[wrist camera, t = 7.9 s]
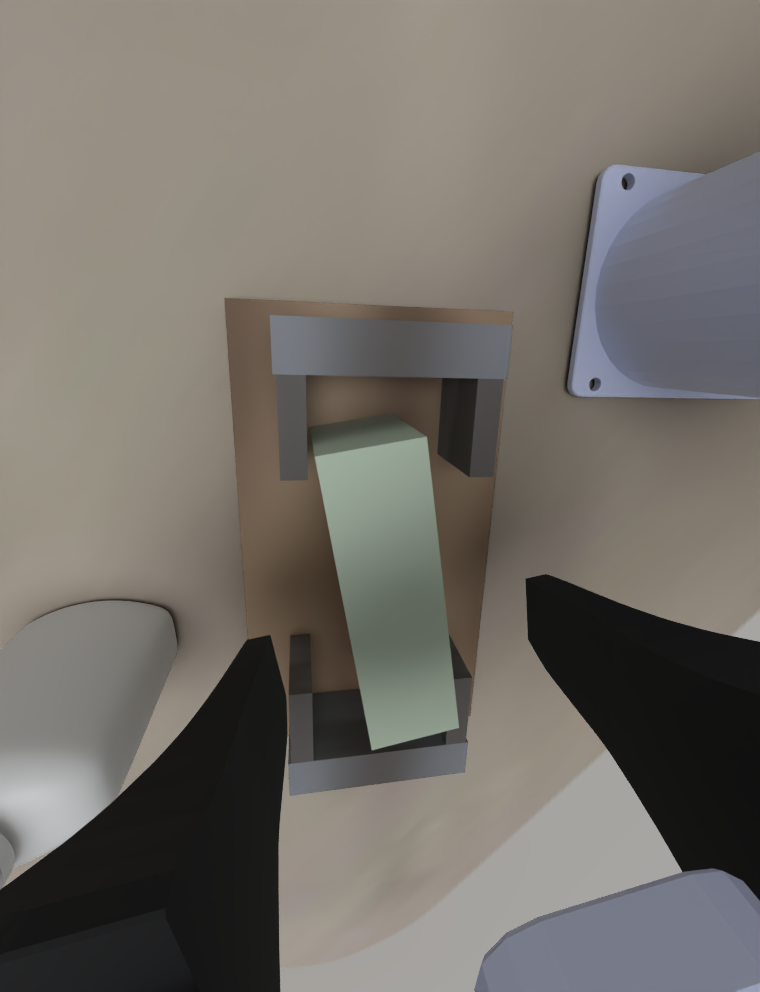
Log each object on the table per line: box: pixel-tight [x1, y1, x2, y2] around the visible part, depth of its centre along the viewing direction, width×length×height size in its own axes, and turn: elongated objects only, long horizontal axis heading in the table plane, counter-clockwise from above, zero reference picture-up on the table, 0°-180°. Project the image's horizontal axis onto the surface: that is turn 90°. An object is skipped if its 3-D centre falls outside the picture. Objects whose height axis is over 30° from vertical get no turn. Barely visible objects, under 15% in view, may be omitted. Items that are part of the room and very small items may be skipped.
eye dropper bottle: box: [0, 600, 178, 890], centre depth 13 cm, size 4×6×12 cm
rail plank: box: [310, 413, 459, 750], centre depth 16 cm, size 3×10×5 cm, turn 8°
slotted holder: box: [225, 298, 513, 796], centre depth 17 cm, size 10×18×4 cm, turn 179°
